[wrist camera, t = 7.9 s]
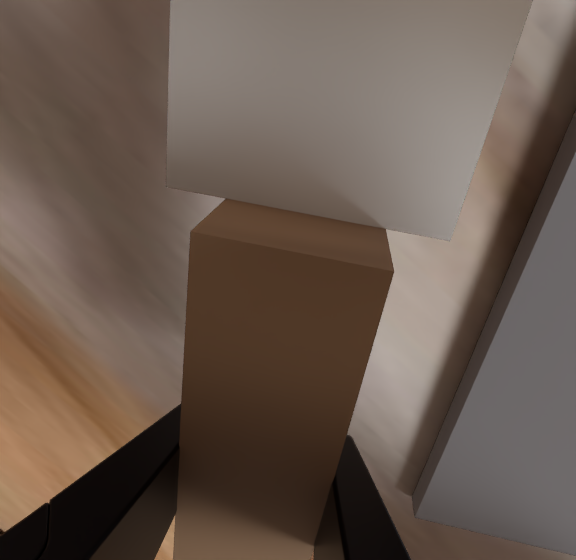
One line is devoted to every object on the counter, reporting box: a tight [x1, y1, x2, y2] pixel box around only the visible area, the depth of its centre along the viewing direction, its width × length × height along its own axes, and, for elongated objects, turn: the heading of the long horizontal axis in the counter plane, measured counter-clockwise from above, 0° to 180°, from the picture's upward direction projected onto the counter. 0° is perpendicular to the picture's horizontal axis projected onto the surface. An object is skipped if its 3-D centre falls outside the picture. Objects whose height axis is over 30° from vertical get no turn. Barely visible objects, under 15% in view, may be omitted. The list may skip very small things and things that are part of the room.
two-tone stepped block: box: [166, 0, 533, 560], centre depth 8 cm, size 17×5×3 cm, turn 171°
